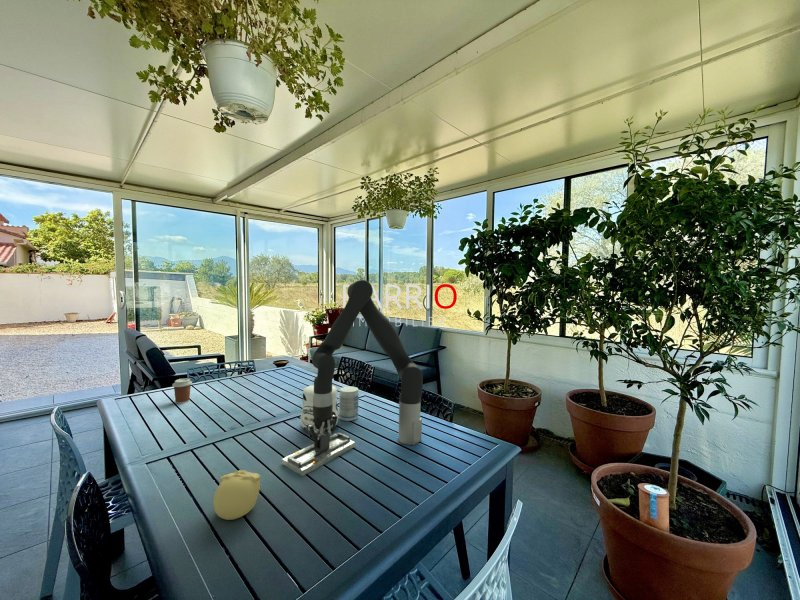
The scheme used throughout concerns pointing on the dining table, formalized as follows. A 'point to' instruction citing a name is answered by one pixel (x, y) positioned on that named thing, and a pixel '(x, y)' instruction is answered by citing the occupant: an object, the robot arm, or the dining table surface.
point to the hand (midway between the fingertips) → (322, 445)
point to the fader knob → (324, 441)
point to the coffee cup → (182, 390)
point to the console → (317, 455)
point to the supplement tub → (348, 403)
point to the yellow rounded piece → (236, 494)
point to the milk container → (308, 406)
